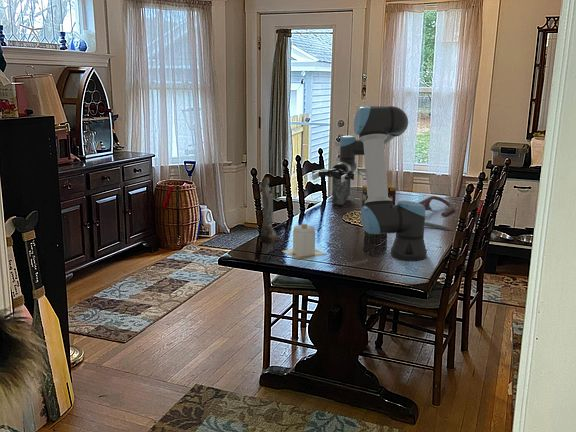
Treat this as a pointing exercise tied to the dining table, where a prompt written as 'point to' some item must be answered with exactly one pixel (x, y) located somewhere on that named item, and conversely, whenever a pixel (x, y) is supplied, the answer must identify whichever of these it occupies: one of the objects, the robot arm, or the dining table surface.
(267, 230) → the statue
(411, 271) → the dining table surface
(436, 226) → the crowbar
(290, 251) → the board
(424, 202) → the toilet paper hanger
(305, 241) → the white lidded jar
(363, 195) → the supplement box
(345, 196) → the concrete block
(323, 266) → the dining table surface
